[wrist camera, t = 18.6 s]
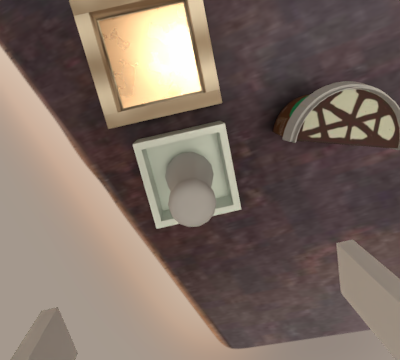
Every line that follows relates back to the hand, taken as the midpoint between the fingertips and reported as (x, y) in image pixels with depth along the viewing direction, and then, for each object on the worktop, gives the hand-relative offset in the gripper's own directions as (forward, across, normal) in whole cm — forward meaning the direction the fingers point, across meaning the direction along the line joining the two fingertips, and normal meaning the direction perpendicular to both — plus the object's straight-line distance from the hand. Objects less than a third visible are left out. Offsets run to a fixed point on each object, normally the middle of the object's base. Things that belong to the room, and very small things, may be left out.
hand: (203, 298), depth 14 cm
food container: (+26, +17, +4) cm, 31 cm away
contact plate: (+26, -1, +14) cm, 29 cm away
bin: (+26, 0, 0) cm, 26 cm away
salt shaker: (+25, 0, 0) cm, 25 cm away
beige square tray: (+26, -1, +14) cm, 29 cm away
